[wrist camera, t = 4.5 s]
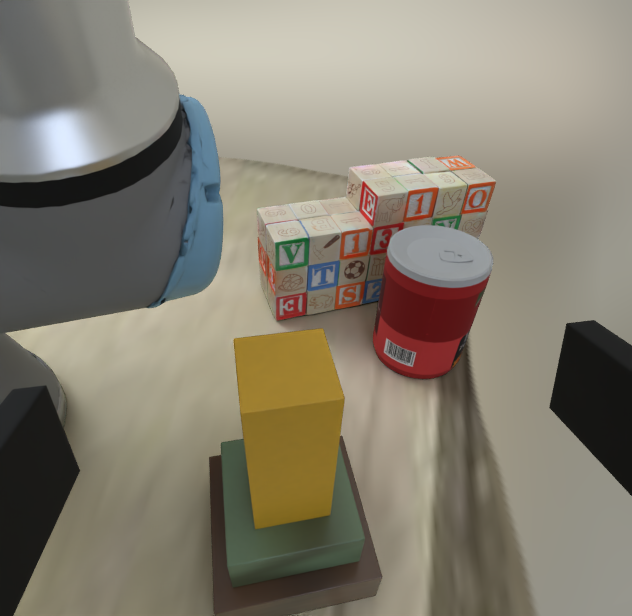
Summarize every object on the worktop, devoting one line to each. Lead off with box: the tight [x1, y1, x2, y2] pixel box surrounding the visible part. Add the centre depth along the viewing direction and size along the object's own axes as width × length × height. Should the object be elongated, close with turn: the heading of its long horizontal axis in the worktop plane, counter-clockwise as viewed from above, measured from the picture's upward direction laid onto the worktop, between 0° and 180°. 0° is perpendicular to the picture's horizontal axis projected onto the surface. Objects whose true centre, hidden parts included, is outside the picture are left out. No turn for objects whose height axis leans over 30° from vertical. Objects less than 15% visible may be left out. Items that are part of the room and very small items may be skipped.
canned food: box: [373, 225, 493, 379], centre depth 38 cm, size 8×8×11 cm
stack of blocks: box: [257, 156, 496, 321], centre depth 45 cm, size 21×6×12 cm, turn 109°
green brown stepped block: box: [209, 436, 382, 616], centre depth 27 cm, size 9×9×6 cm
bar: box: [234, 328, 345, 529], centre depth 22 cm, size 4×4×10 cm
